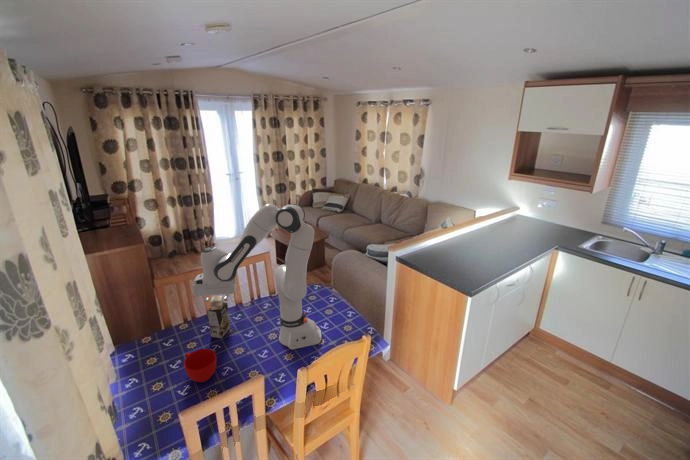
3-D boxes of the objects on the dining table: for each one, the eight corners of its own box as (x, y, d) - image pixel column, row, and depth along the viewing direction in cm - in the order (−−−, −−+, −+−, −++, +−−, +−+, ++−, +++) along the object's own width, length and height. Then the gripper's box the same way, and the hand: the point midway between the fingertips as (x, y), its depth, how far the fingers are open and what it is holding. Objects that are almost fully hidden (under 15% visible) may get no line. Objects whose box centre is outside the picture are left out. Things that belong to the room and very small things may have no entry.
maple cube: (223, 303, 169) (222, 295, 167) (221, 309, 164) (220, 300, 162) (213, 304, 168) (212, 296, 166) (211, 309, 163) (210, 301, 162)
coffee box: (221, 338, 167) (218, 312, 161) (210, 336, 168) (206, 310, 163) (231, 327, 175) (227, 302, 170) (220, 326, 177) (216, 301, 171)
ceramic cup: (200, 358, 153) (197, 341, 150) (224, 372, 146) (222, 355, 142) (175, 376, 143) (171, 359, 139) (200, 393, 135) (196, 374, 132)
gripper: (235, 273, 164) (238, 296, 169) (194, 275, 161) (197, 298, 166) (233, 279, 159) (236, 303, 164) (190, 281, 156) (194, 305, 161)
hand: (216, 301), depth 165 cm, fingers open, 8 cm apart
